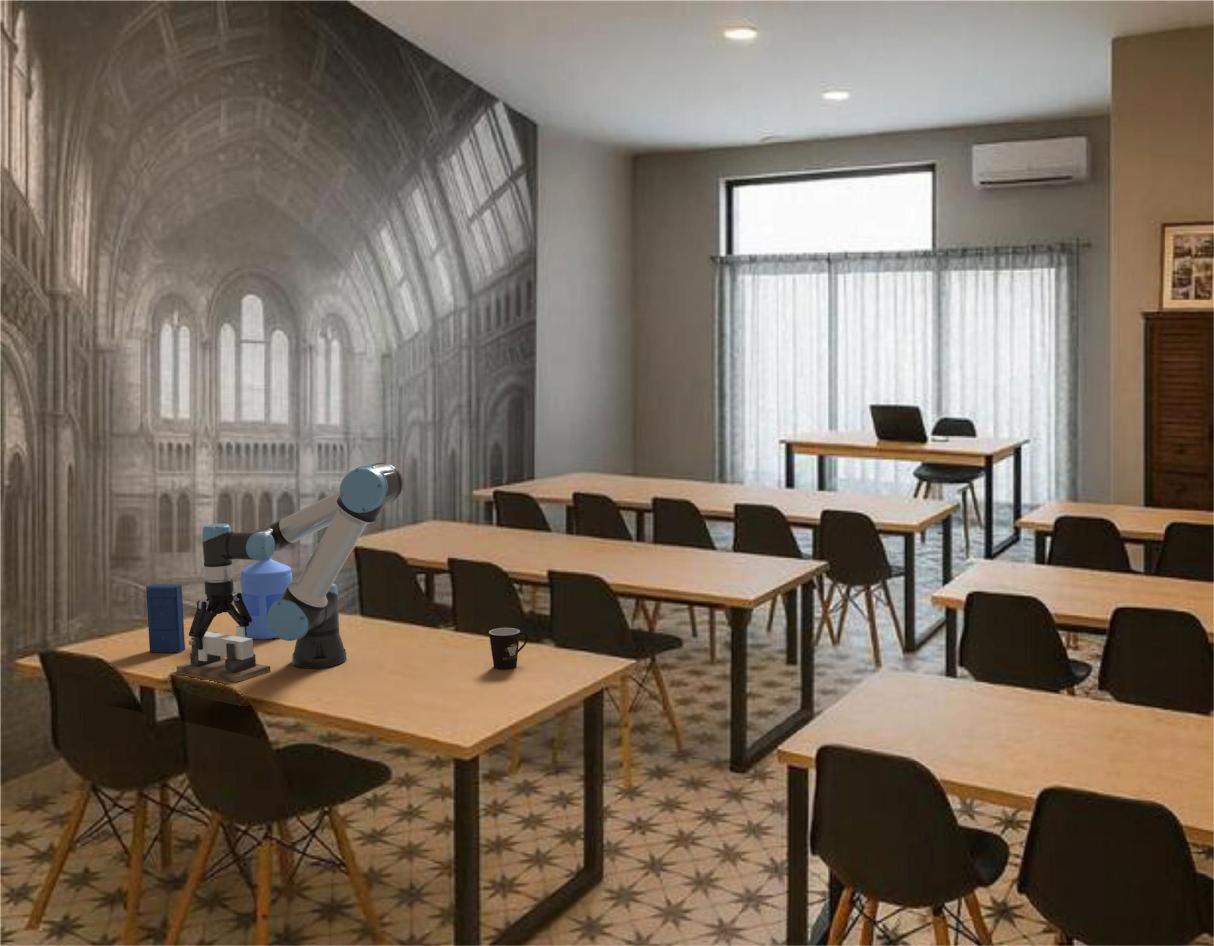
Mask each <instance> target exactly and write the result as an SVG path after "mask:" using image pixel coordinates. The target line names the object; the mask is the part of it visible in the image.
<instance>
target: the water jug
mask: <svg viewBox="0 0 1214 946" xmlns="http://www.w3.org/2000/svg"><path fill="white" fill-rule="evenodd" d="M291 582H293V573H292V568H291V566H289V565H287V564H284V563H282V562H279V561H278V560H277V561H276V560H273V559H272V556H271V557H270V558H269V559H267V560H256V562H254V563H252V564H250V565H248V566H247V567H244V568H243V569H241V571H240V585H241V594H242V600H243V602H244V604H245V606H246V608H247V610H248V612H249V614H250V616H251V618H252V622H249V626H246V631H247V635H246V637H245V638H253V640H273V639H272V638H275V639H278V637H277V636H276V635H275V634H274V633H273V632H272V631H271V629H270V627H269V623H268V621H267V614H268V611H269V609H270V607H271V606H272V605H273V604H274V603H275V602H276V601H278V600H280V599H281V597H282V596H283V594H284V592H285V590H286V589H287V587H288V585H289V584H290V583H291Z"/></svg>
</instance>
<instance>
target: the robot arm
mask: <svg viewBox="0 0 1214 946" xmlns="http://www.w3.org/2000/svg"><path fill="white" fill-rule="evenodd" d="M403 490H404V479H403V476H402V474H401V472H400V471H399V470H398V468H397V467H395V466H394V465H392V464H391V463H387V462H377V463H373V464H369V465H363V466H358V467H356V468H354V469H353V470H351V471H349V472H348V473H347V474H346V475H344V477H343V479H342V480H341V482H340V485H339V490H338V491H336V492H334V493H332V494H330V495H328V496H326V497H324V498H321V499H320V500H318V501H315V502H314V503H311V504H310V505H308V506H306V507H304V508H301V509H300V510H298V511H296V512H294V513H291V514H289V515H287V516H285V517H283V518H281V519H280V520H278V521H276V522H273V523H271V524H269V525H267V526H264V527H262V528H261V527H260V528H259V529H255V530H252V531H246V532H245V531H244V532H243V531H241V532H239V531H238V532H236V531H232V527H231V525H230V524H229V523H228V524H227V523H212V524H207V525H204V526H203V527H202V535H201V537H202V540H201V543H202V552H203V555H202V557H203V576H204V577H203V578H204V580H205V582H204V593H205V595H206V600H204V601H203V600H198V601H197V602H196V610H195V613H194V617H193V620H192V622H191V626H190V628H189V632H188V637H190V638H191V637H195V639H196V649H198V660H200V661H207V641H206V637H204V635H205V633H206V632H208V629H209V628H210V626H211V624H212V622H213V620H214V618H216V617H217V615H220V614H222V613H227V614H228V615H230V616H231V618H232V619H233V620H234V621H235V623H237V625H236V626H235V631H236V632H235V633H236V635H235V636H238V637H245V638H247V637H246V635H247V631H246V626H249V622H252V618H251V616H250V614H249V612H248V610H247V608H246V606H245V604H244V602H243V600H242V592H235V591H234V580H233V579H232V578H234V572H233V571H234V569H233V560H244V561H245V560H250V561H259V560H267V559H269V558H270V557H271V558H272V556H273V555H274V552H279V551H281V550H284V549H285V548H287V547H288V546H290V545H292V544H294V543H297V542H298V541H300V540H301V539H304V538H306V537H308V536H310V535H313V534H314V533H317V532H318V531H320V530H322V529H325V528H326V530H325V532H324V533H323V536H322V537H321V539H320V541H319V542H318V544H317V546H316V547H315V549H314V551H313V553H312V555H311V556H310V559H309V560H308V562H307V564H306V565H305V567H304V568H303V570H302V573H300V576H299V577H298V579H297V580H294V581H292V582H291V583H290V584H289V585H288V587H287V589H286V590H285V592H284V594H283V596H282V597H281V599H280V600H278V601H276V602H275V603H274V604H273V605H272V606H271V607H270V609H269V611H268V614H267V621H268V623H269V627H270V629H271V631H272V632H273V633H274V634H275V635H276V636H277V637H278V638H279V640H283V641H287V642H292V641H295V646H294V652H293V653H292V656H291V657H292V659H291V661H292V665H293V666H295V667H297V668H302V669H320V668H321V669H322V668H329V667H334V666H337V665H341V664H343V663H345V662H347V659H348V658H347V651H346V649H345V648H344V644H343V641H342V637H341V634H340V620H339V618H340V617H339V611H340V610H339V591H338V586H337V584H336V583H334V582H335V580H336V579H337V577H338V575H339V573H340V572H341V569H342V568H343V567H344V564H345V563H346V561H347V559H349V556H350V554H351V552H352V551H353V549H354V548H355V546H356V544H357V542H358V541H359V538H360V537H361V535H362V533H363V532H364V530H365V529H366V527H367V525H370V524H375V522H376V521H377V519H378V517H379V516H380V514H381V512H382V510H383V509H384V508H385V506H386V505H389V504H391V503H393V502H395V501H396V500H397V499H398V498H399V497H400V496H401V494H402V492H403ZM233 603H234V605H235V606H234V605H233ZM278 638H277V639H278Z"/></svg>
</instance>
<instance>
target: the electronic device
mask: <svg viewBox="0 0 1214 946" xmlns="http://www.w3.org/2000/svg"><path fill="white" fill-rule="evenodd" d="M182 587H183V586H182V584H179V583H177V584H174V583H172V584H171V583H170V584H169V583H168V584H167V583H165V584H163V583H161V584H160V583H159V584H157V583H153V584H152V583H151V584H149V585H147V586H146V587H145V592H146V607H147V608H146V609H147V610H146V611H147V624H148V625H147V626H148V642H149V652H150V653H177V652H180V653H181V651H182V652H184V651H185V650H186V643H185V641H186V640H185V621H184V607H183V606H184V605H183V603H184V602H183V588H182Z"/></svg>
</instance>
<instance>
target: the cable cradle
mask: <svg viewBox="0 0 1214 946" xmlns="http://www.w3.org/2000/svg"><path fill="white" fill-rule="evenodd" d="M212 632H213V633H217V632H215V631H212ZM251 639H253V638H251ZM253 640H254V639H253ZM188 646H191V653H189V658H190V661H189V662H186V663H182V664H179V665H176V672H178V673H183V672H185V673H184V674H189V675H195V676H201V677H205V676H208V677H207V678H210V679H211V678H212V679H216V678H217V679H216V680H222V681H227V682H232V681H233V683H239V682H238V681H240V682H242V681H241V680H243V681H245V679H246V680H248V679H247V678H249V679H252V678H254V677H253V676H255V677H258V676H261V675H263V673H264V674H267V673H270V672H271V666H270V665H266V664H260V663H257V661H256V660H257V659H256V654H255V653H253V655H254V657H250V658H247V659H244V660H240V659H235V651H234V644H233V643H227V644H226V651H227V657H222V656H216V655H211V654H207V661H200V660H198V649H196V639H195V637H193V638H191V637H190V639H189V640H188ZM269 671H270V672H269ZM257 675H258V676H257ZM251 677H252V678H251Z"/></svg>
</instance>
